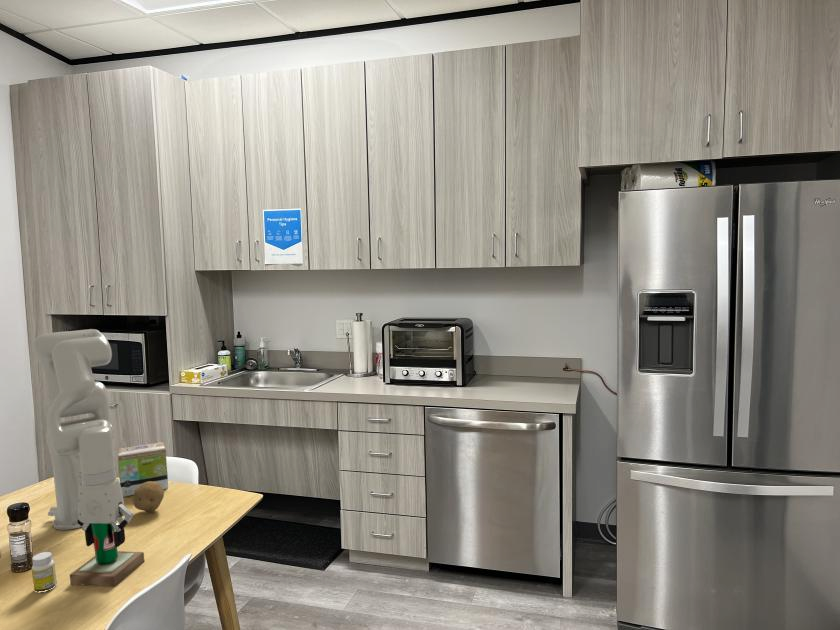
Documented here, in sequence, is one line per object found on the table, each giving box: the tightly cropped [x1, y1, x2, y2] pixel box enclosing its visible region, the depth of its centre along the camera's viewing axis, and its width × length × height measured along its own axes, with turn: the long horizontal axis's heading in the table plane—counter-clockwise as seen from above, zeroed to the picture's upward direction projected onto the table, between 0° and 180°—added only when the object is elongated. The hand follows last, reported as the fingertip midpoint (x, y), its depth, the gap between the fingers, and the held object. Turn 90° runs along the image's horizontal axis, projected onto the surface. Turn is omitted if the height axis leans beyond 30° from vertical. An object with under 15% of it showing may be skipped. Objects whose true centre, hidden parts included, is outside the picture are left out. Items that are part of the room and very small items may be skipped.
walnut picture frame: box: [69, 550, 145, 588], centre depth 153 cm, size 12×12×3 cm
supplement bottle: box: [31, 551, 58, 592], centre depth 146 cm, size 5×5×8 cm
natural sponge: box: [132, 481, 165, 514], centre depth 188 cm, size 9×9×10 cm
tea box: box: [117, 441, 169, 498], centre depth 209 cm, size 15×10×15 cm, turn 117°
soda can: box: [91, 524, 118, 565], centre depth 152 cm, size 5×5×12 cm
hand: (105, 543), depth 152 cm, fingers open, 7 cm apart
